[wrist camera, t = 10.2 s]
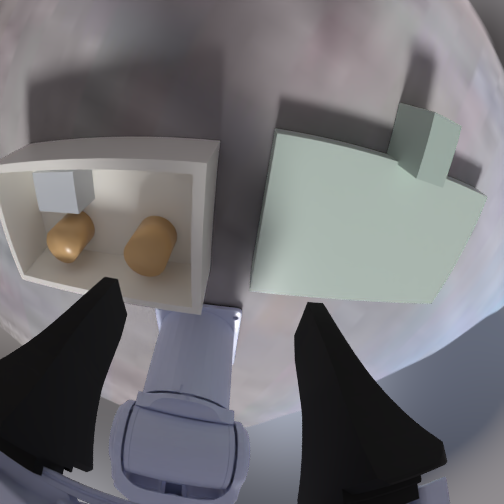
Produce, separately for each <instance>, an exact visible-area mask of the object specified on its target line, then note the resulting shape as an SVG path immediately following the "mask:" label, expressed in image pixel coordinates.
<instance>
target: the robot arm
mask: <svg viewBox="0 0 504 504" xmlns="http://www.w3.org/2000/svg"><path fill="white" fill-rule="evenodd" d="M155 311H156V317H157V323H158V328H159V335H158V338H157V342H156V345H155V349H154V352H153V356H152V360H151V363H150V367H149V371H148V374H147V378H146V382H145V386H144V390H143V392H141V391H139V392H138V395H137V399H136V401H133V400H127V401H126V402H125V403H124V404H122V405H120V407H119V408H118V410H117V412H116V414H115V417H114V420H113V424H112V428H111V433H110V439H109V457H110V460H111V466H112V479H113V480H114V486H115V488H117V490H119V492H121V493H122V494H123V495H124V496H125V497H126V498H128V500H130V501H128V500H125V499H122V498H119V497H115V496H113V495H110V494H107V493H104V492H101V491H99V490H96V489H93V488H91V487H88V486H86V485H83V484H81V483H79V482H77V481H74V480H72V479H70V478H68V477H66V476H64V475H63V470H64V469H65V470H67V471H69V472H72V469H73V467H75V468H78V469H80V470H83V471H85V472H88V471H91V470H92V469H93V443H94V431H95V423H96V416H97V410H98V405H99V400H100V395H101V391H102V387H103V384H104V381H105V378H106V375H107V372H108V370H109V367H110V364H111V362H112V359H113V357H114V354H115V351H116V349H117V346H118V344H119V341H120V339H121V336H122V332H123V329H124V325H125V321H126V317H127V312H126V309H125V305H124V301H123V297H122V293H121V289H120V285H119V281H118V279H115V278H109V277H104V278H103V279H101V280H100V281H99V282H98V283H97V284H96V285H94V286H93V287H92V288H91V289H90V290H89V291H88V292H87V293H86V294H84V295H83V296H82V297H81V298H80V299H79V300H78V301H77V302H76V303H75V304H73V305H72V306H71V307H70V308H69V309H68V310H67V311H66V312H65V313H63V314H62V315H61V316H60V317H59V318H58V319H56V320H55V321H54V322H53V323H52V324H51V325H49V326H48V327H47V328H46V329H45V330H43V331H42V332H41V333H40V334H38V335H37V336H36V337H34V338H33V339H31V340H30V341H29V342H27V343H26V344H24V345H23V346H21V347H20V348H18V349H17V350H15V351H14V352H12V353H11V354H9V355H7V356H6V357H4V358H2V359H0V504H87V503H90V504H234V502H236V501H237V497H238V494H239V491H240V488H241V486H242V484H243V483H244V481H245V479H246V477H247V473H248V469H249V462H250V441H249V436H248V432H247V431H246V429H245V428H244V427H243V425H242V423H240V422H237V421H234V411H233V410H229V403H230V388H231V372H232V365H233V364H234V359H235V353H236V347H237V341H238V335H239V329H240V322H241V316H242V311H241V309H239V308H233V307H224V306H216V305H207V304H203V307H202V312H201V315H197V314H189V313H182V312H175V311H169V310H162V309H156V308H155ZM234 316H237V317H234ZM294 346H295V364H296V372H297V379H298V386H299V393H300V401H301V409H302V461H301V462H302V463H301V476H300V485H299V493H298V504H450V500H449V492H448V486H447V480H446V477H442V478H439V479H437V480H434V481H432V482H430V483H427V484H424V485H421V486H418V485H417V483H420V482H421V475H422V474H424V473H427V472H429V471H431V470H434V469H436V468H438V467H440V466H443V465H445V464H446V463H447V458H446V454H445V450H444V445H443V442H442V441H441V440H439V439H438V438H437V437H435V436H434V435H432V434H430V433H429V432H428V431H426V430H425V429H424V428H422V427H421V426H420V425H419V424H418V423H416V422H415V421H414V420H413V419H412V418H410V417H409V416H408V415H407V414H406V413H405V412H404V411H403V410H402V409H401V408H400V407H399V406H398V405H397V404H396V403H395V402H394V401H393V400H392V399H391V398H390V397H389V396H388V395H387V394H386V393H385V392H384V391H383V390H382V388H381V387H380V386H379V385H378V384H377V383H376V381H375V380H374V379H373V378H372V376H371V375H370V374H369V373H368V371H367V370H366V369H365V367H364V366H363V364H362V363H361V362H360V360H359V359H358V357H357V356H356V355H355V353H354V352H353V350H352V349H351V347H350V346H349V344H348V343H347V341H346V340H345V338H344V336H343V335H342V333H341V332H340V330H339V328H338V327H337V325H336V324H335V322H334V320H333V319H332V317H331V315H330V314H329V312H328V310H327V309H326V307H325V306H324V304H323V303H313V302H307V305H306V308H305V310H304V313H303V315H302V318H301V320H300V323H299V325H298V328H297V330H296V333H295V335H294ZM77 498H78V499H80V500H83V501H85V502H87V503H83V502H79V501H78V500H77Z"/></svg>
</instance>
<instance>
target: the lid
mask: <svg viewBox="0 0 504 504" xmlns="http://www.w3.org/2000/svg"><path fill="white" fill-rule="evenodd" d="M461 127H462V126H460V125H458V124H456V123H455V122H453V121H451V120H449V119H447V118H445V117H443V116H441V115H440V114H438V113H436V112H433V111H429V110H426V109H422V108H419V107H415V106H411V105H407V104H403V103H399V107H398V111H397V116H396V120H395V124H394V128H393V132H392V136H391V140H390V143H389V147H388V151H387V154H385V153H382V152H379V151H375V150H372V149H368V148H365V147H361V146H357V145H354V144H350V143H346V142H342V141H337V140H333V139H329V138H324V137H320V136H315V135H310V134H305V133H300V132H294V131H289V130H283V129H277V128H275V131H274V137H273V143H272V149H271V155H270V161H269V167H268V173H267V179H266V185H265V191H264V197H263V203H262V209H261V215H260V221H259V226H258V232H257V238H256V244H255V250H254V256H253V262H252V268H251V273H250V291H251V292H260V293H270V294H281V295H291V296H303V297H315V298H328V299H342V300H357V301H374V302H394V303H419V304H432V302H433V301H434V299H435V298H436V296H437V295H438V293H439V291H440V290H441V288H442V287H443V285H444V283H445V282H446V280H447V278H448V277H449V275H450V273H451V272H452V270H453V268H454V266H455V265H456V263H457V261H458V259H459V257H460V255H461V253H462V252H463V250H464V248H465V246H466V244H467V242H468V240H469V238H470V236H471V234H472V232H473V229H474V227H475V225H476V223H477V221H478V219H479V216H480V214H481V212H482V209H483V207H484V204H485V202H486V199H487V196H485V195H484V194H483V193H482V192H480V191H479V190H478V189H476V188H475V187H473V186H470V185H468V184H466V183H464V182H461V181H459V180H457V179H454V178H452V177H450V176H447V175H448V172H449V169H450V165H451V162H452V159H453V156H454V153H455V149H456V146H457V142H458V139H459V135H460V131H461Z"/></svg>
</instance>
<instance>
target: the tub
mask: <svg viewBox="0 0 504 504" xmlns="http://www.w3.org/2000/svg"><path fill="white" fill-rule="evenodd" d="M219 149H220V141H219V140H208V139H194V138H177V137H95V138H78V139H66V140H55V141H46V142H38V143H31V144H28V145H26V146H24V147H22V148H20V149H18V150H16V151H14V152H13V153H11V154H9V155H7V156H5V157H4V158H2V159H0V219H1V222H2V226H3V229H4V232H5V235H6V238H7V241H8V244H9V247H10V250H11V252H12V255H13V258H14V260H15V263H16V265H17V268H18V270H19V273H20V275H21V277H22V279H23V280H27V281H31V282H34V283H38V284H42V285H46V286H49V287H53V288H57V289H61V290H66V291H70V292H74V293H79V294H83V295H84V294H86V293H87V292H88V291H89V290H90V289H91V288H92V287H93V286H94V285H96V284H97V283H98V282H99V281H100V280H101V279H103V278H104V277H109V278H115V279H118V281H119V285H120V289H121V293H122V297H123V301H124V303H127V304H133V305H138V306H144V307H150V308H156V309H162V310H169V311H175V312H182V313H189V314H197V315H201V312H202V307H203V302H204V297H205V292H206V287H207V282H208V277H209V273H210V268H211V250H212V234H213V219H214V205H215V193H216V181H217V170H218V159H219Z"/></svg>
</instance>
